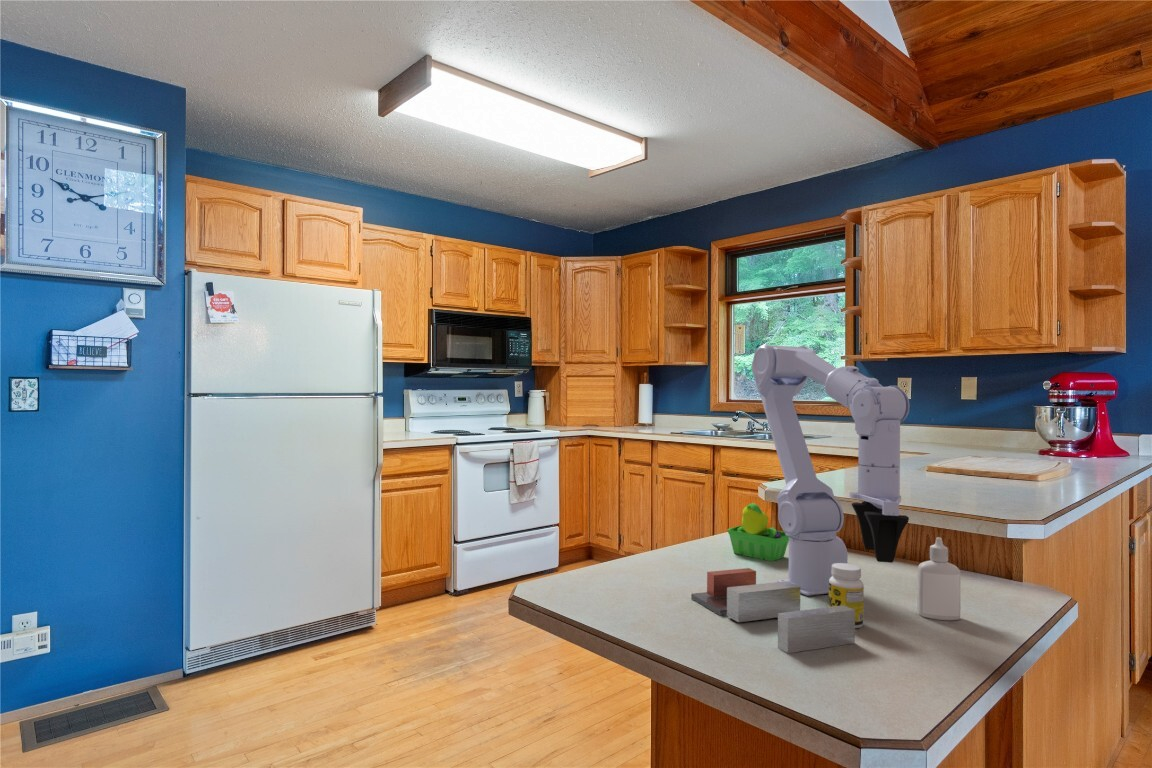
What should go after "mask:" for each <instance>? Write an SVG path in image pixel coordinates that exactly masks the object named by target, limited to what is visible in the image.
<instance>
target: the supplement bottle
mask: <svg viewBox="0 0 1152 768" xmlns="http://www.w3.org/2000/svg"><path fill="white" fill-rule="evenodd" d="M831 573H832V575H833V576H832V577H831V578H830V579H829V593H828V607H834V606H842V605H845V606H847V607H850V608H852V609H854V610H855V629H860V628H862V627H863V626H864V602H865V601H864V598H865V597H864V596H865V595H864V592H865V591H864V588H865V586H864V582H863V581H862V580H861V578H862V568H861V566H858V565H855V564H852V563H848V564H847V563H835V564H832V571H831Z"/></svg>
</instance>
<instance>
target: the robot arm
mask: <svg viewBox="0 0 1152 768" xmlns="http://www.w3.org/2000/svg"><path fill="white" fill-rule="evenodd" d="M750 368H751V372H752V375H753V378H754V381H755V385H756V388H757V392H758V393H759V394H760V398H761V403H762V406H763V409H764V413H765V416H766V420H767V423H768V427H769V430H770V434H771V437H772V440H773V444H774V448H775V451H776V454H777V457H778V461H779V464H780V468H781V471H782V475H783V478H784V481H785V486H784V487H783V488H782V489H781V490H780V491H779V493H778V495H777V496H776V497H775V499H776V501H777V502H776V503H777V508H778V509H777V510H778V512H777V514H778V515H777V517H778V518H777V519H778V523H779V525H780V527H781V529H782V530H783V532H785V535H787V536H789V541H788V575H787V576H788V577H787V578H785V579H777V582H784V581H788V582H791V583H793V584H795V585H798V586H800V587H801V588H800V594H802V595H804V596H815V595H817V596H818V595H824V594H825V595H826V594H829V579H830V578H831V577H832V576H833V575H832V573H831V571H832V564H835V563H847V564H849V563H848V560H849V558H848V550H847V547H846V545H845V542H844V541H843V539H841V538H840V537H839V536H837V533H838V532H840V531H841V529H842V528H843V525H844V520H845V516H844V510H843V507H842V505H841V504H840V502H839V501H838V499H836V498H837V497H835V495H834V491H833V489H832V488H831V487H830V486H829V485H827V484H826V483H825V482H823V481H822V480H820V479H819V478H817V474H816V471H815V468H814V465H813V462H812V459H811V456H810V451H809V449H808V445H807V443H806V440H805V437H804V432H803V430H802V426H801V423H800V421H799V417H798V414H797V411H796V408H795V405H794V402H793V401H794V397H796V396H797V395H799V394H800V393H801V392H802V389H803V388H804V386H805V385H806V382H807V381H808V379H811V380H813V381H814V382H816V383H818V384H821V385H822V386H824V390H825V392H826V395H827V396H828V397H830V398H831V399H832V400H834V401H836V402H837V403H839V404H841V405H842V406H844V407H845V408H847V409H848V410H849V412H850V414H851V417H852V419H853V422H854V431H856V434H857V435H858V451H857V452H858V466H857V467H858V468H857V469H858V471H857V473H858V474H857V476H858V477H857V480H858V481H857V484H858V485H857V490H858V491H857V492H849V497H850V498H851V499H854V500H855V499H857V500H860V501H861V502H852V503H851V506H852V508H853V511H854V513H855V514H856V518H857V521H858V524H859V528H860V533H861V537H862V543H863V546H864V549H865V550H867V551H870V550H871V551H874V555H875V559H876V561H877V562H878V563H891V564H893V563H894V561H895V557H896V553H897V549H898V545H899V541H900V539H901V536H902V534H903V531H904V529H905V528H906V526H907V525H908V523H909V520H910V518H909V516H908V515H905V514H904V515H901V514H900V503H901V502H902V495H901V491H900V490H901V482H900V481H901V480H900V479H901V472H900V471H901V423H903V422H904V421H905V420H906V418H907V417H908V415H909V413H910V406H911V405H910V400H909V396H908V394H907V393H906V392H905V391H904V390H903V389H902V388H901V387H900V386H898V385H889V386H883V385H882V384H880V383H879V382H880V381H879V380H878V379H877V378H875V377H868V376H866V375H864V374H863V373H861V372H859V367H856V366H855V365H846V366H840V367H835V366H834V365H833V364H831V363H830V362H828V361H826V360H825V359H824V358H822V357H821V356H819V355H818V354H816V351H815V350H814V349H811V348H809V347H808V346H805V345H801V346H800V345H799V346H792V345H791V346H790V345H789V346H788V345H770V344H761V345H759V346H758V348H756V350H755V352H754V354H753V359H752V361H751V367H750Z"/></svg>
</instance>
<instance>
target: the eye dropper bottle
mask: <svg viewBox="0 0 1152 768" xmlns="http://www.w3.org/2000/svg"><path fill="white" fill-rule="evenodd" d="M943 543H944V542H943V539H942V537H939V536H938V537H936V538H935V543H934V544H931V545H930V546H929V559H930V560H925V561H923V562H920V564H918V566H917V612H918V613H919V615H920V616H922V618H926V619H930V620H931V619H932V620H939V621H959V620H960V619H961V570H960V568H959V567H957V566H956V564H953V563H951V562H948V561H949V547H947V546H945V545H944V544H943Z"/></svg>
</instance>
